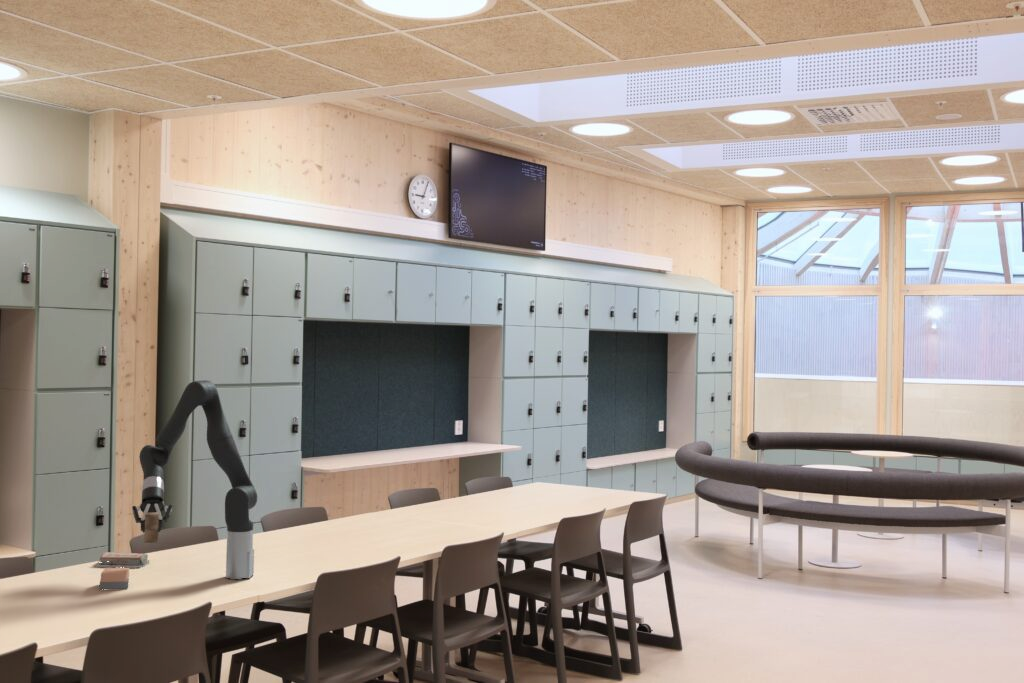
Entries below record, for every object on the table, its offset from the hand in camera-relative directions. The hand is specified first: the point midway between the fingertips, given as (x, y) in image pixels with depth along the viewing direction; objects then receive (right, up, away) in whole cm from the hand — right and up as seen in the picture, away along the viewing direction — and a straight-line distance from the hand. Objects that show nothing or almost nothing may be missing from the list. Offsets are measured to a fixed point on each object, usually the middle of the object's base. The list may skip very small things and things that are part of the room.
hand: (151, 530), depth 344 cm
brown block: (-1, -4, +2) cm, 5 cm away
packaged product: (-21, -19, +27) cm, 40 cm away
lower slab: (-11, -19, -6) cm, 22 cm away
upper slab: (-10, -16, -6) cm, 20 cm away
